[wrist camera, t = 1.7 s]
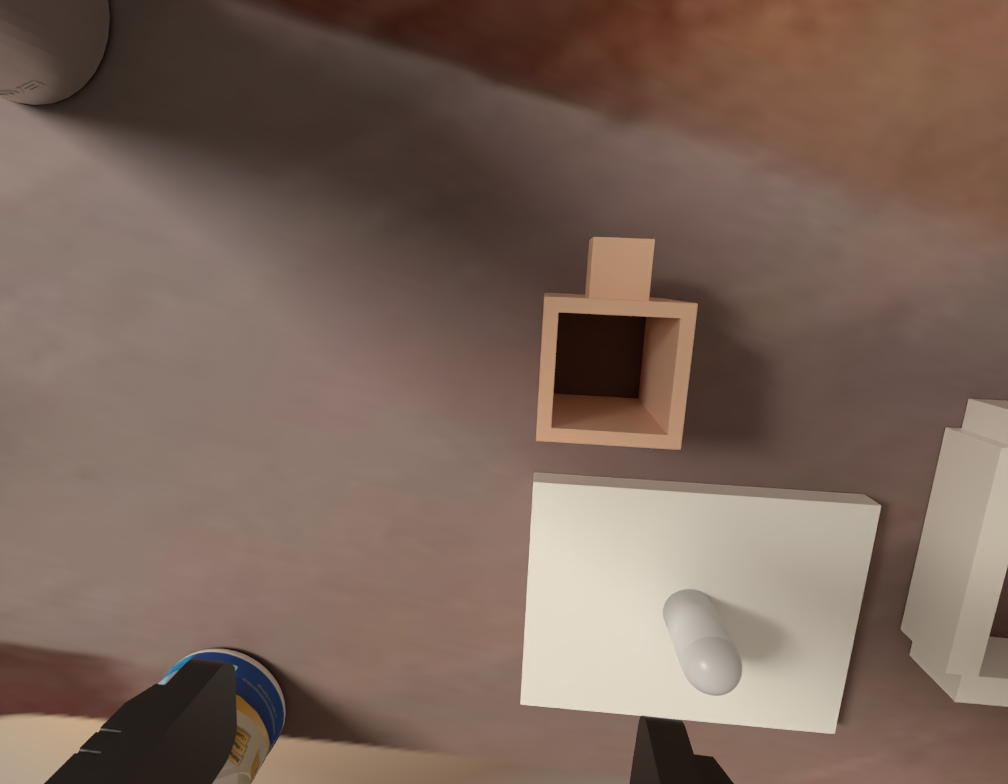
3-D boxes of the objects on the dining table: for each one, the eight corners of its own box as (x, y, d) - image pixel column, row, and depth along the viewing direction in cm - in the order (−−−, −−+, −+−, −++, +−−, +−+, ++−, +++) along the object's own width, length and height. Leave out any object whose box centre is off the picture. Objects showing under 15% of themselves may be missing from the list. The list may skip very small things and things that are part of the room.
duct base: (533, 472, 30) (530, 527, 23) (864, 494, 29) (961, 559, 22) (521, 685, 33) (515, 789, 26) (821, 713, 32) (895, 828, 25)
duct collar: (537, 403, 29) (536, 440, 22) (546, 245, 28) (547, 233, 21) (648, 409, 29) (680, 450, 22) (664, 250, 27) (705, 240, 20)
